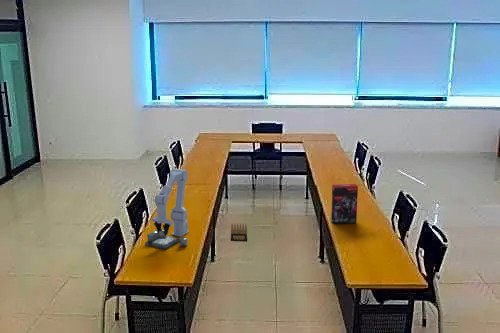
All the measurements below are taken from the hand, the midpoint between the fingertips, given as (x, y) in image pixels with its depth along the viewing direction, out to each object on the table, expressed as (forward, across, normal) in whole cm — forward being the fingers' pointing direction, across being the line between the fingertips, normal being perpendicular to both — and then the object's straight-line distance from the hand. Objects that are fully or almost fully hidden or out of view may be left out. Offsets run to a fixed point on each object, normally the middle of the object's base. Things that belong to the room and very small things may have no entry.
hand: (162, 233), depth 328 cm
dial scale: (+8, -3, +4) cm, 10 cm away
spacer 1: (+2, 0, 0) cm, 3 cm away
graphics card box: (+9, +85, +94) cm, 127 cm away
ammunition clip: (+9, +37, +31) cm, 49 cm away
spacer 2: (+8, +11, +7) cm, 15 cm away
